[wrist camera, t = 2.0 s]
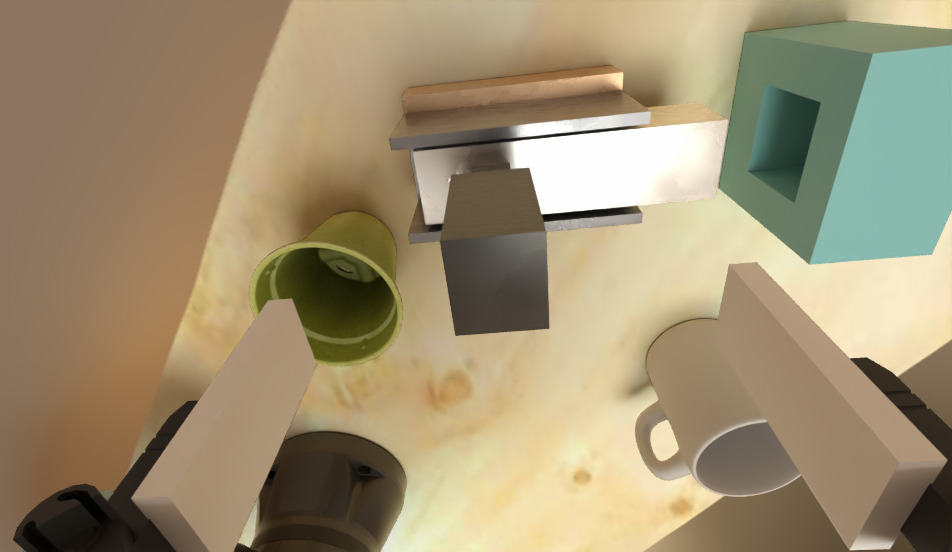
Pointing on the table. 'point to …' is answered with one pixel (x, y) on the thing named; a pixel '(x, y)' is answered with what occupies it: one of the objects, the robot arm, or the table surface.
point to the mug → (709, 418)
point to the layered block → (519, 125)
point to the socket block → (844, 138)
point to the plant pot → (337, 288)
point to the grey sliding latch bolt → (551, 201)
